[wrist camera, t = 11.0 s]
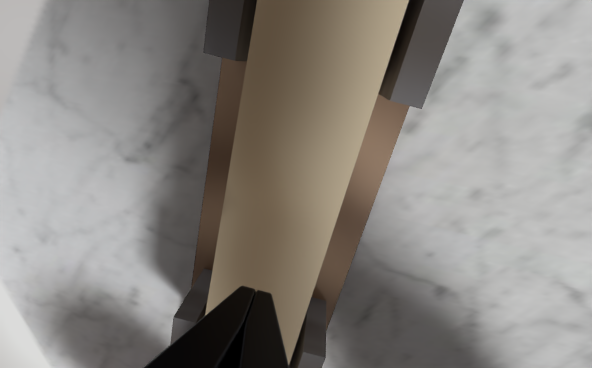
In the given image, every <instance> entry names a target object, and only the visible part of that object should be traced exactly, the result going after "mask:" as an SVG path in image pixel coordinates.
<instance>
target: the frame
mask: <svg viewBox="0 0 592 368" xmlns="http://www.w3.org/2000/svg"><path fill="white" fill-rule="evenodd" d="M463 1H464V0H409V2H408V5H407V8H406V11H405V14H404V17H403V20H402V23H401V26H400V29H399V32H398V35H397V38H396V41H395V44H394V47H393V50H392V53H391V56H390V59H389V62H388V66H387V69H386V72H385V75H384V78H383V81H382V84H381V87H380V90H379V93H378V96H377V99H376V102H375V105H374V108H373V111H372V114H371V117H370V120H369V123H368V126H367V129H366V132H365V135H364V139H363V142H362V145H361V148H360V151H359V154H358V157H357V160H356V163H355V166H354V169H353V172H352V175H351V178H350V181H349V184H348V187H347V190H346V193H345V196H344V199H343V202H342V205H341V208H340V212H339V215H338V218H337V221H336V224H335V227H334V230H333V233H332V236H331V239H330V242H329V245H328V248H327V251H326V254H325V257H324V260H323V263H322V266H321V269H320V272H319V275H318V278H317V281H316V285H315V288H314V291H313V294H312V297H311V300H310V303H309V306H308V309H307V312H306V315H305V318H304V321H303V324H302V327H301V330H300V333H299V336H298V339H297V342H296V345H295V348H294V351H293V354H292V357H291V361H290V364H289V368H322V366H323V363H324V360H325V358H326V330H327V327H328V325H329V322H330V319H331V317H332V314H333V311H334V309H335V306H336V303H337V300H338V298H339V295H340V292H341V290H342V287H343V284H344V282H345V279H346V276H347V273H348V271H349V268H350V265H351V263H352V260H353V257H354V255H355V252H356V249H357V246H358V244H359V241H360V238H361V236H362V233H363V230H364V227H365V225H366V222H367V219H368V217H369V214H370V211H371V209H372V206H373V203H374V200H375V198H376V195H377V192H378V190H379V187H380V184H381V182H382V179H383V176H384V173H385V171H386V168H387V165H388V163H389V160H390V157H391V155H392V152H393V149H394V146H395V144H396V141H397V138H398V136H399V133H400V130H401V128H402V125H403V122H404V119H405V117H406V114H407V111H408V109H409V106H412V107H416V108H420V109H422V107H423V104H424V102H425V99H426V96H427V94H428V91H429V89H430V86H431V84H432V81H433V78H434V76H435V73H436V71H437V68H438V65H439V63H440V60H441V58H442V55H443V53H444V50H445V47H446V45H447V42H448V40H449V37H450V34H451V32H452V29H453V27H454V24H455V21H456V19H457V16H458V14H459V11H460V9H461V6H462V3H463ZM256 4H257V0H209V8H208V17H207V26H206V35H205V43H204V52H203V53H207V54H210V55H214V56H218V57H222V64H221V71H220V79H219V86H218V93H217V101H216V108H215V116H214V123H213V130H212V138H211V145H210V153H209V160H208V167H207V175H206V182H205V190H204V197H203V204H202V212H201V219H200V227H199V234H198V241H197V249H196V256H195V263H194V271H193V278H192V286H191V290H190V292H189V293H188V295H187V296H186V298H185V300H184V301H183V303H182V304H181V306H180V308H179V309H178V311H177V312H176V314H175V316H174V318H173V327H172V336H171V344H172V343H173V342H174V341H176V340H177V339H178V338H179V337H180V336H181V335H183V334H184V333H185V332H186V331H187V330H189V329H190V328H191V327H192V326H193V325H195V324H196V323H197V322H198V321H199V320H201V319H202V318H203V317H204V316H205V313H206V307H207V300H208V294H209V288H210V282H211V276H212V270H213V264H214V258H215V252H216V246H217V240H218V234H219V228H220V222H221V216H222V210H223V204H224V198H225V192H226V186H227V180H228V174H229V168H230V162H231V155H232V149H233V143H234V137H235V131H236V125H237V119H238V113H239V107H240V101H241V95H242V89H243V83H244V77H245V71H246V65H247V59H248V53H249V47H250V41H251V35H252V29H253V23H254V16H255V10H256ZM171 344H170V345H171Z"/></svg>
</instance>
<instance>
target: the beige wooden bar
mask: <svg viewBox="0 0 592 368" xmlns="http://www.w3.org/2000/svg"><path fill="white" fill-rule="evenodd" d="M408 2H409V0H257V4H256V10H255V16H254V23H253V29H252V35H251V41H250V47H249V53H248V59H247V65H246V71H245V77H244V83H243V89H242V95H241V101H240V107H239V113H238V119H237V125H236V131H235V137H234V143H233V149H232V155H231V162H230V168H229V174H228V180H227V186H226V192H225V198H224V204H223V210H222V216H221V222H220V228H219V234H218V240H217V246H216V252H215V258H214V264H213V270H212V276H211V282H210V288H209V294H208V300H207V307H206V313H205V315H207V314H208V313H209V312H210V311H211V310H212V309H214V308H215V307H216V306H217V305H218V304H220V303H221V302H222V301H223V300H224V299H226V298H227V297H228V296H229V295H230V294H232V293H233V292H234V291H235V290H236V289H237V288H239V287H240V286H247V287H250V288H254V289H255V290H256V291H257V290H261V291H265V292H269V293H271V294H272V296H273V300H274V305H275V309H276V313H277V317H278V322H279V326H280V330H281V334H282V339H283V343H284V347H285V351H286V356H287V360H288V364H290V361H291V357H292V354H293V351H294V348H295V345H296V342H297V339H298V336H299V333H300V330H301V327H302V324H303V321H304V318H305V315H306V312H307V309H308V306H309V303H310V300H311V297H312V294H313V291H314V288H315V285H316V281H317V278H318V275H319V272H320V269H321V266H322V263H323V260H324V257H325V254H326V251H327V248H328V245H329V242H330V239H331V236H332V233H333V230H334V227H335V224H336V221H337V218H338V215H339V212H340V208H341V205H342V202H343V199H344V196H345V193H346V190H347V187H348V184H349V181H350V178H351V175H352V172H353V169H354V166H355V163H356V160H357V157H358V154H359V151H360V148H361V145H362V142H363V139H364V135H365V132H366V129H367V126H368V123H369V120H370V117H371V114H372V111H373V108H374V105H375V102H376V99H377V96H378V93H379V90H380V87H381V84H382V81H383V78H384V75H385V72H386V69H387V66H388V62H389V59H390V56H391V53H392V50H393V47H394V44H395V41H396V38H397V35H398V32H399V29H400V26H401V23H402V20H403V17H404V14H405V11H406V8H407V5H408Z"/></svg>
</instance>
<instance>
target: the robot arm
mask: <svg viewBox="0 0 592 368" xmlns="http://www.w3.org/2000/svg"><path fill="white" fill-rule="evenodd" d="M143 368H289V364H288V360H287V356H286V351H285V347H284V343H283V339H282V334H281V330H280V326H279V322H278V317H277V313H276V309H275V305H274V300H273V296H272V294H271V293H269V292H265V291H261V290H257V291H256V290H255V289H254V288H250V287H247V286H240V287H239V288H237V289H236V290H235V291H234V292H233V293H232V294H230V295H229V296H228V297H227V298H226V299H224V300H223V301H222V302H221V303H220V304H218V305H217V306H216V307H215V308H214V309H212V310H211V311H210V312H209V313H208V314H207V315H205V316H204V317H203V318H202V319H201V320H199V321H198V322H197V323H196V324H195V325H193V326H192V327H191V328H190V329H189V330H187V331H186V332H185V333H184V334H183V335H181V336H180V337H179V338H178V339H177V340H176V341H174V342H173V343H172V344H171V345H170V346H168V347H167V348H166V349H165V350H164V351H162V352H161V353H160V354H159V355H158V356H156V357H155V358H154V359H153V360H152V361H151V362H149V363H148V364H147V365H146V366H145V367H143Z"/></svg>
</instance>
